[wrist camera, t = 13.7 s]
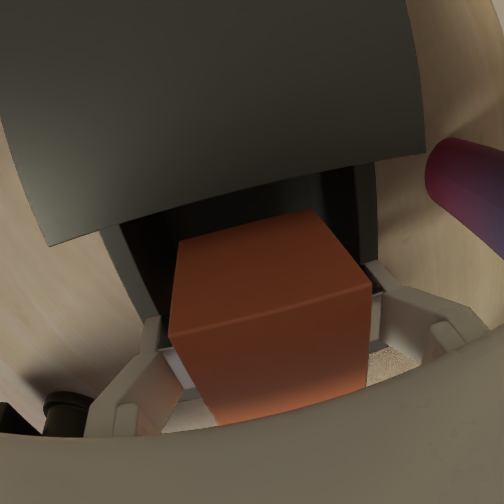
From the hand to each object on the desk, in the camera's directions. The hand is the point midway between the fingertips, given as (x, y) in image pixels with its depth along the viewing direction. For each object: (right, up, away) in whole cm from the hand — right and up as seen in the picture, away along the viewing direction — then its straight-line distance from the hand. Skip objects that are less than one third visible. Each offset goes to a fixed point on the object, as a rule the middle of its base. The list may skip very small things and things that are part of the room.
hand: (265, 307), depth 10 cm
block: (0, +1, +1) cm, 2 cm away
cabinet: (-4, +14, +3) cm, 14 cm away
